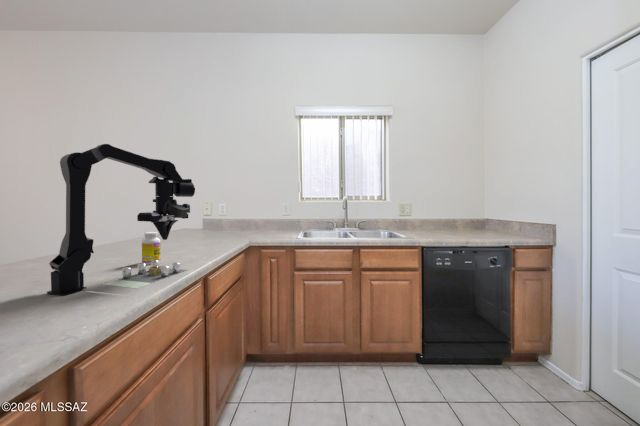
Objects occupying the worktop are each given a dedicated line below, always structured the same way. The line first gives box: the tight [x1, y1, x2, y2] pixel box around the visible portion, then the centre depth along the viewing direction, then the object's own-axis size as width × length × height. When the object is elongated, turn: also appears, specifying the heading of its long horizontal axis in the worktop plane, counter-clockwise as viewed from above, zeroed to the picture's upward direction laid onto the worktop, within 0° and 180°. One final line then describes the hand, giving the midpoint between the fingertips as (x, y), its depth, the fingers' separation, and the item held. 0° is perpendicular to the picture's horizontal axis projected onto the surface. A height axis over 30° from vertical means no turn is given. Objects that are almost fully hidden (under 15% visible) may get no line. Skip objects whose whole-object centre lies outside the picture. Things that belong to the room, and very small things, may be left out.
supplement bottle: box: [141, 231, 162, 266], centre depth 121 cm, size 7×7×13 cm
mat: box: [101, 267, 188, 289], centre depth 100 cm, size 23×13×1 cm, turn 166°
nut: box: [148, 265, 161, 276], centre depth 103 cm, size 4×5×2 cm
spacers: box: [121, 260, 181, 279], centre depth 102 cm, size 14×12×4 cm
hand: (165, 239), depth 107 cm, fingers closed
